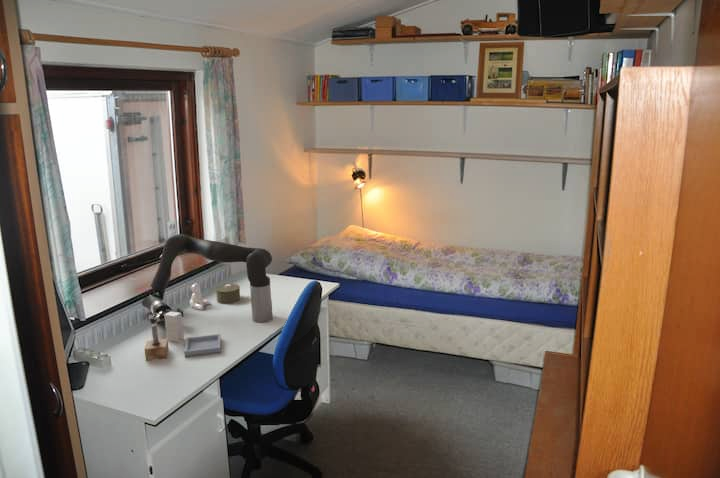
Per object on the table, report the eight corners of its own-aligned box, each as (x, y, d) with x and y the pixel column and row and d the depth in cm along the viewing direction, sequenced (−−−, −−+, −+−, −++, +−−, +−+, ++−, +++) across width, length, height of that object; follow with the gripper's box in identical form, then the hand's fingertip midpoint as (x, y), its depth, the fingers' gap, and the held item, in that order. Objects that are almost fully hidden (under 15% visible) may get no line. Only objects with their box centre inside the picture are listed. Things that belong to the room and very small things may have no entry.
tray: (220, 339, 243) (220, 333, 242) (220, 353, 230) (220, 347, 229) (187, 342, 240) (186, 337, 239) (184, 357, 226) (184, 351, 226)
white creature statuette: (201, 310, 276) (199, 287, 273) (185, 309, 277) (183, 286, 274) (210, 303, 285) (208, 281, 282) (195, 302, 286) (192, 280, 283)
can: (216, 305, 282) (215, 292, 281) (217, 297, 294) (216, 284, 292) (240, 303, 285) (239, 290, 283) (240, 295, 296) (239, 282, 294)
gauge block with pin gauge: (168, 349, 233) (165, 320, 230) (166, 358, 226) (163, 328, 223) (148, 352, 232) (144, 322, 228) (145, 360, 224) (142, 330, 221)
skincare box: (184, 338, 244) (181, 312, 241) (178, 342, 240) (175, 316, 237) (172, 336, 246) (170, 311, 243) (166, 340, 242) (163, 314, 239)
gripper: (143, 305, 255) (152, 316, 242) (175, 299, 263) (185, 309, 250) (145, 321, 257) (154, 332, 244) (177, 314, 265) (187, 325, 252)
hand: (170, 320), depth 247 cm, fingers open, 8 cm apart
